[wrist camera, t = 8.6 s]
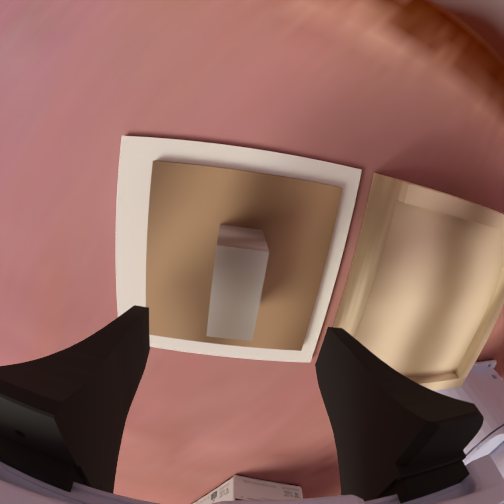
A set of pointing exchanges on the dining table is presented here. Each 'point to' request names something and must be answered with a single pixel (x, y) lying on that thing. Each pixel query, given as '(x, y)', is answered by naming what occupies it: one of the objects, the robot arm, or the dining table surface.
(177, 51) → the dining table surface
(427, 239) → the case
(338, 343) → the robot arm
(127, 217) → the mat
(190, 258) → the lid
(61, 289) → the dining table surface
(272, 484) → the tea box
